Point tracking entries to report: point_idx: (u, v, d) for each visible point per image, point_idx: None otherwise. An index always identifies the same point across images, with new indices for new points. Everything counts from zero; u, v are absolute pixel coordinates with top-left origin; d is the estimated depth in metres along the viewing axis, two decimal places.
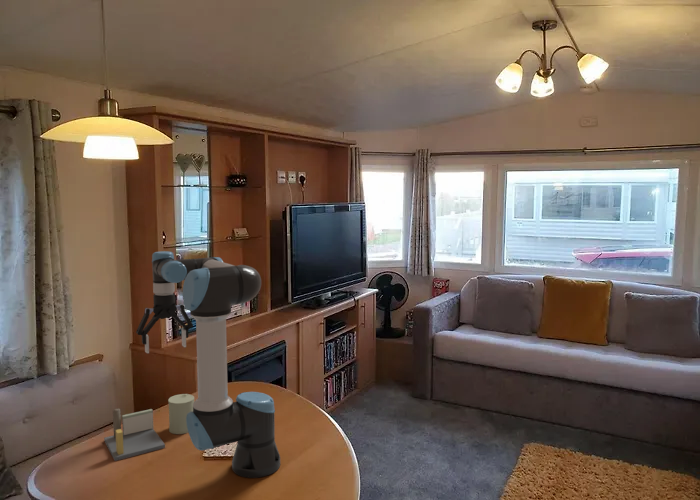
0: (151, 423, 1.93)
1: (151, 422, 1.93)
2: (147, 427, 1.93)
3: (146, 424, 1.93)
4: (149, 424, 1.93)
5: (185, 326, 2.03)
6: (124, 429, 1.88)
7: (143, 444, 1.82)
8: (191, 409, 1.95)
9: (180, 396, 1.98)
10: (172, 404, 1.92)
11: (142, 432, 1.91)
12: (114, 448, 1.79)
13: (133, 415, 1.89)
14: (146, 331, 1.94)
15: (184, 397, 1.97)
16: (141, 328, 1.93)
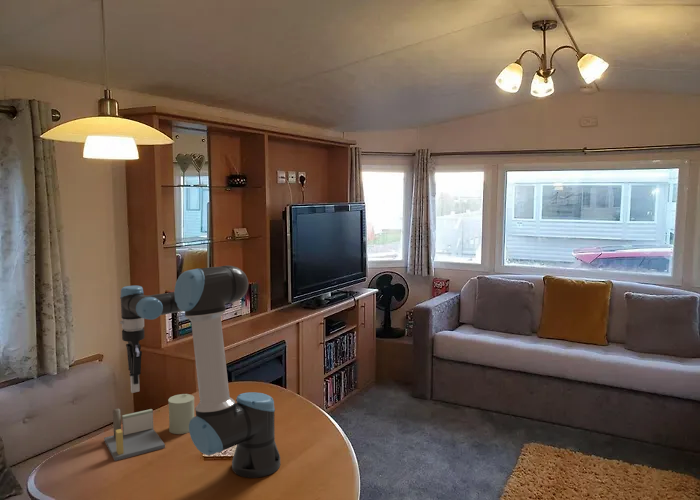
0: (151, 423, 1.93)
1: (151, 422, 1.93)
2: (147, 427, 1.93)
3: (146, 424, 1.93)
4: (149, 424, 1.93)
5: None
6: (124, 429, 1.88)
7: (143, 444, 1.82)
8: (191, 409, 1.95)
9: (180, 396, 1.98)
10: (172, 404, 1.92)
11: (142, 432, 1.91)
12: (114, 448, 1.79)
13: (133, 415, 1.89)
14: None
15: (184, 397, 1.97)
16: None
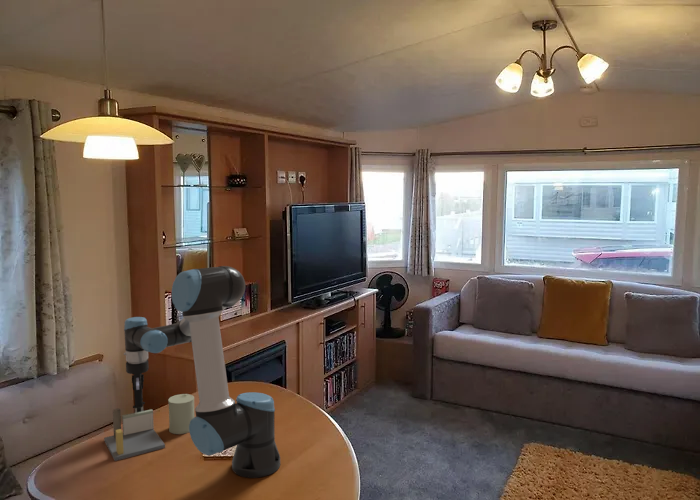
0: (151, 423, 1.93)
1: (151, 422, 1.93)
2: (147, 427, 1.93)
3: (146, 424, 1.92)
4: (149, 424, 1.93)
5: None
6: (124, 429, 1.88)
7: (143, 444, 1.82)
8: (191, 409, 1.95)
9: (180, 396, 1.98)
10: (172, 404, 1.92)
11: (142, 432, 1.91)
12: (114, 448, 1.79)
13: (133, 415, 1.89)
14: None
15: (184, 397, 1.97)
16: None
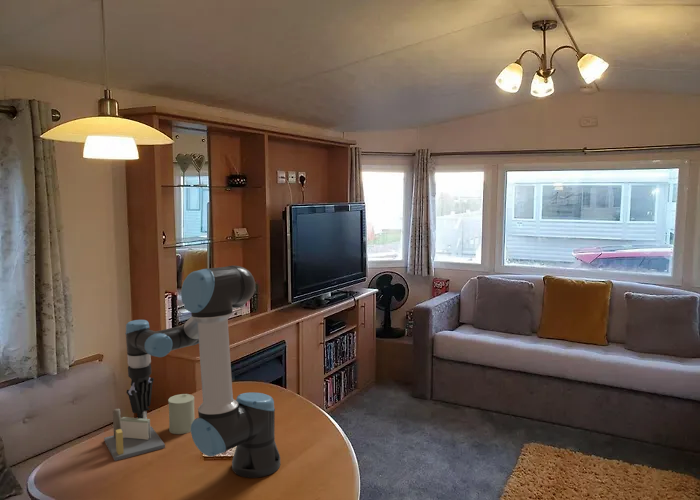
0: (146, 434, 1.85)
1: (146, 433, 1.85)
2: (142, 436, 1.85)
3: (142, 433, 1.85)
4: (144, 434, 1.85)
5: (146, 405, 1.89)
6: (122, 431, 1.86)
7: (143, 444, 1.82)
8: (191, 409, 1.95)
9: (180, 396, 1.98)
10: (172, 404, 1.92)
11: None
12: (114, 448, 1.79)
13: (129, 420, 1.85)
14: (142, 408, 1.87)
15: (184, 397, 1.97)
16: (138, 407, 1.84)
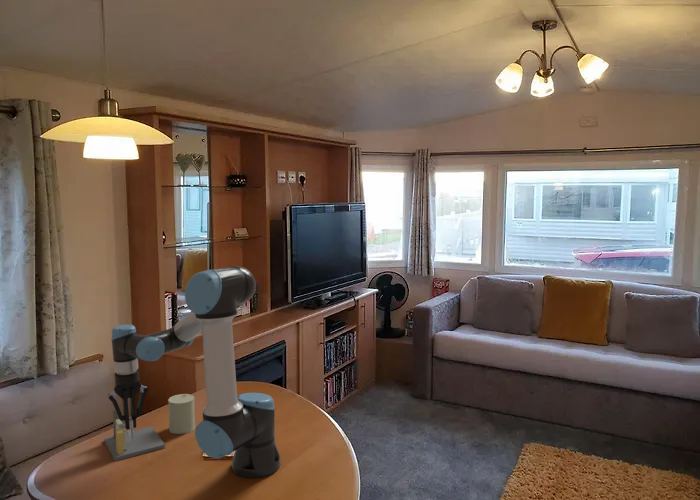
0: None
1: None
2: None
3: None
4: None
5: (134, 415, 1.82)
6: None
7: (143, 444, 1.82)
8: (191, 409, 1.95)
9: (180, 396, 1.98)
10: (172, 404, 1.92)
11: (142, 432, 1.91)
12: (114, 448, 1.79)
13: (117, 424, 1.82)
14: (126, 416, 1.80)
15: (184, 397, 1.97)
16: (119, 414, 1.79)
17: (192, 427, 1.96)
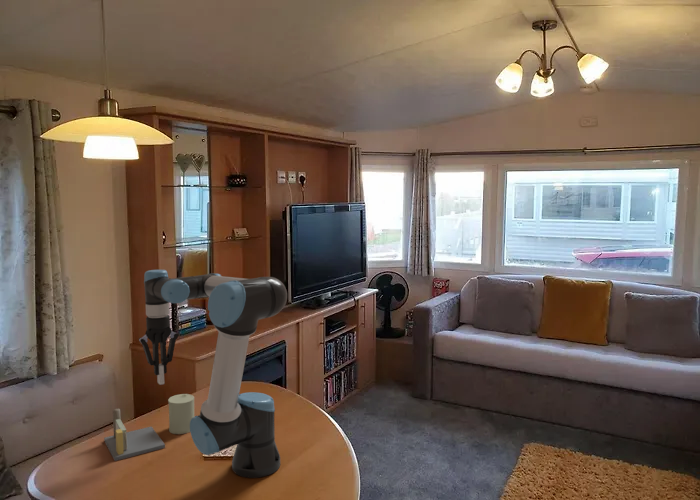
0: None
1: None
2: None
3: None
4: None
5: (165, 360, 1.83)
6: None
7: (143, 444, 1.82)
8: (191, 409, 1.95)
9: (180, 396, 1.98)
10: (172, 404, 1.92)
11: (142, 432, 1.91)
12: (114, 448, 1.79)
13: (117, 424, 1.82)
14: (156, 361, 1.81)
15: (184, 397, 1.97)
16: (150, 358, 1.80)
17: None
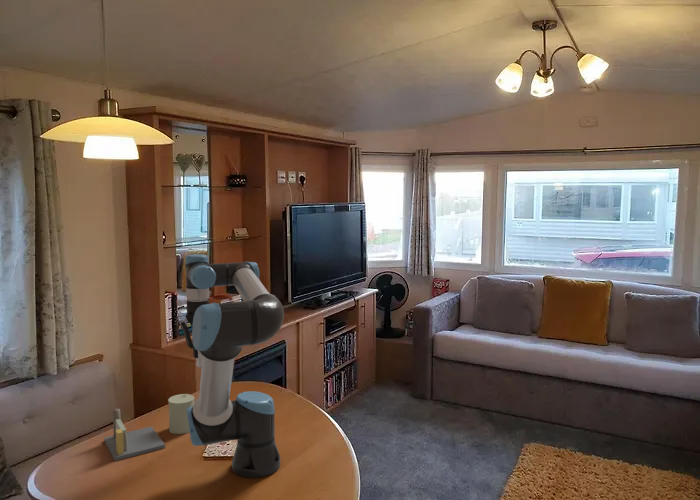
0: None
1: None
2: None
3: None
4: None
5: None
6: None
7: (143, 444, 1.82)
8: None
9: (180, 396, 1.98)
10: (172, 404, 1.92)
11: (142, 432, 1.91)
12: (114, 448, 1.79)
13: (117, 424, 1.82)
14: None
15: (184, 397, 1.97)
16: (189, 341, 1.82)
17: None
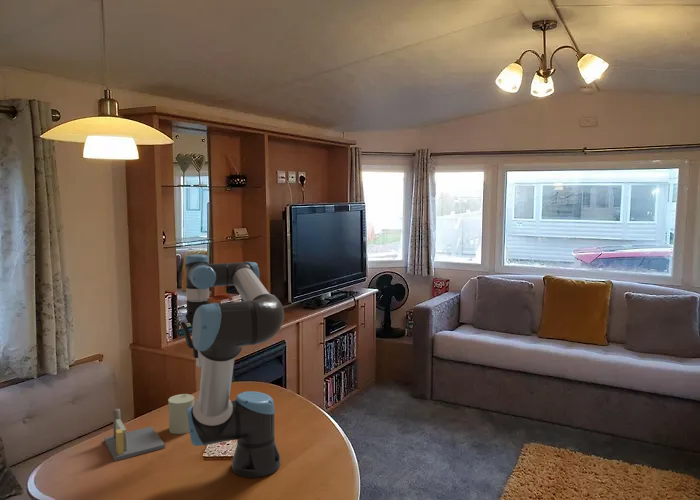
0: None
1: None
2: None
3: None
4: None
5: None
6: None
7: (143, 444, 1.82)
8: None
9: (180, 396, 1.98)
10: (172, 404, 1.92)
11: (142, 432, 1.91)
12: (114, 448, 1.79)
13: (117, 424, 1.82)
14: None
15: (184, 397, 1.97)
16: (189, 341, 1.82)
17: None
